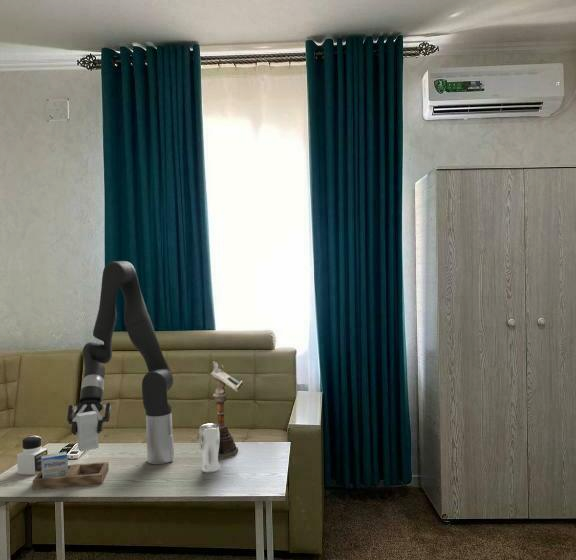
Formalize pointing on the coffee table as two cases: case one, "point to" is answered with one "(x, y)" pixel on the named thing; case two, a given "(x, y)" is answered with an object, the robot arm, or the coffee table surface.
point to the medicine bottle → (31, 456)
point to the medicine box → (54, 465)
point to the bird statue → (226, 440)
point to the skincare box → (87, 430)
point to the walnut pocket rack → (74, 476)
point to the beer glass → (210, 447)
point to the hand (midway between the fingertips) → (86, 433)
